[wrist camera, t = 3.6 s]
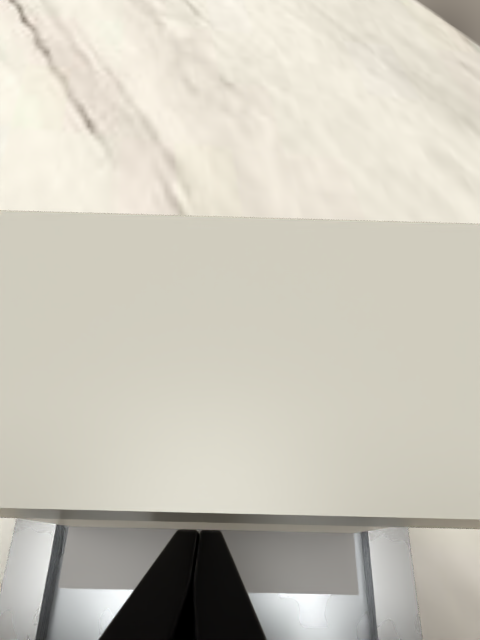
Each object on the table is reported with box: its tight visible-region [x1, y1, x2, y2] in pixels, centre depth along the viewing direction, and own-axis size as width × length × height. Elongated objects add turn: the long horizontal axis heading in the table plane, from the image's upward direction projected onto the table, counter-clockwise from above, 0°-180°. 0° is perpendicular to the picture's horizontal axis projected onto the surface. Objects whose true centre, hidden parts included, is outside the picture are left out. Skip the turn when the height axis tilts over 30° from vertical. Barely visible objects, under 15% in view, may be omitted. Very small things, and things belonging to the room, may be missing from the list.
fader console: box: [0, 518, 423, 640], centre depth 14 cm, size 24×12×3 cm, turn 179°
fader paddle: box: [0, 210, 480, 595], centre depth 9 cm, size 5×8×12 cm, turn 89°
